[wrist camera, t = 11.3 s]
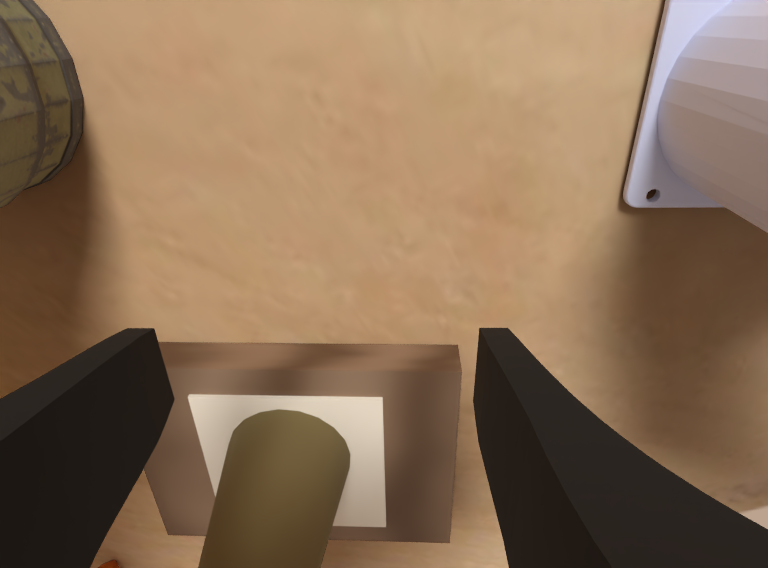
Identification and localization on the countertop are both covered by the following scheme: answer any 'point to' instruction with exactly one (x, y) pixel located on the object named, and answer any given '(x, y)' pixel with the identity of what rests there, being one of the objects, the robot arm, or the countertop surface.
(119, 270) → the countertop surface
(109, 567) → the carrot
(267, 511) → the olive pawn piece
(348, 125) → the countertop surface
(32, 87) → the thermos
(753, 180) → the robot arm
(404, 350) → the walnut plinth
